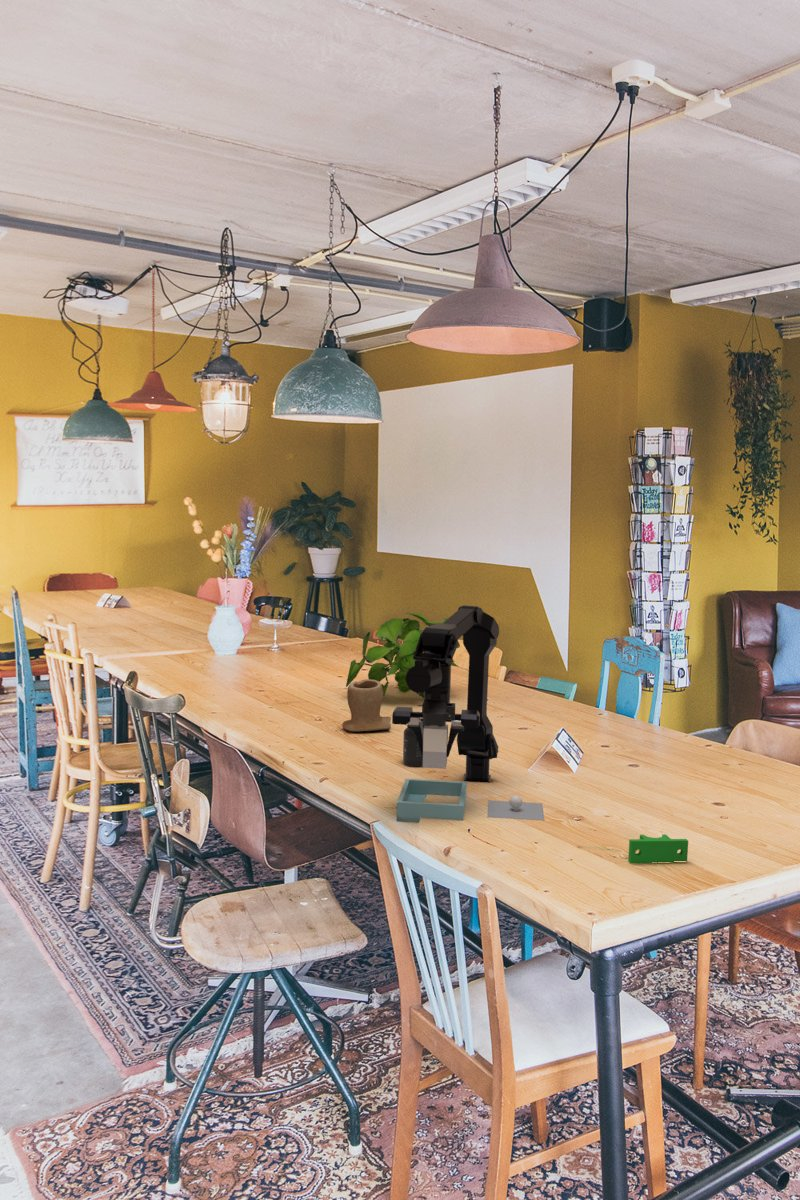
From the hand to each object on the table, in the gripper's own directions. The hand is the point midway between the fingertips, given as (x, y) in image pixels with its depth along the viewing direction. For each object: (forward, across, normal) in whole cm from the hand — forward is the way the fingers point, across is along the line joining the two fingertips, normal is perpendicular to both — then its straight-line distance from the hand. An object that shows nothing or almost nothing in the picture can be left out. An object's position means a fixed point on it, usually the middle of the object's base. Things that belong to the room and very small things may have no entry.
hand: (435, 756), depth 214 cm
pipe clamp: (+12, +44, -23) cm, 51 cm away
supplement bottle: (+12, -7, +37) cm, 40 cm away
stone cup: (+12, -24, +71) cm, 76 cm away
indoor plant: (+12, -18, +121) cm, 123 cm away
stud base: (+12, +18, 0) cm, 21 cm away
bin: (+12, 0, 0) cm, 12 cm away
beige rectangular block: (+2, 0, 0) cm, 2 cm away
